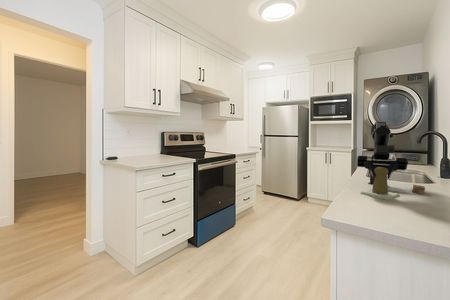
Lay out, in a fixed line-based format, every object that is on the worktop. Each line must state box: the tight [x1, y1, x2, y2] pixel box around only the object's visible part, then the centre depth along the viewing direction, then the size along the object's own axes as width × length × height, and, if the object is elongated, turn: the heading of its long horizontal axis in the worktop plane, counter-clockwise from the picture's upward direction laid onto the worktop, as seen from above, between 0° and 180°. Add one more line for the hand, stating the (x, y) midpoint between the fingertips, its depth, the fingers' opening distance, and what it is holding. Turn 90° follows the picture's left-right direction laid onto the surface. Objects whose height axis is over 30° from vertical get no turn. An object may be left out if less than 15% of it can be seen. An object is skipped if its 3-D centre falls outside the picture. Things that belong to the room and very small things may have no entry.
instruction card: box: [388, 185, 417, 195], centre depth 108 cm, size 12×9×1 cm
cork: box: [372, 167, 389, 194], centre depth 100 cm, size 6×6×11 cm
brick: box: [411, 184, 426, 195], centre depth 104 cm, size 4×4×3 cm
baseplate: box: [360, 189, 401, 201], centre depth 100 cm, size 11×11×1 cm
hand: (381, 177), depth 98 cm, fingers closed on cork, 5 cm apart
